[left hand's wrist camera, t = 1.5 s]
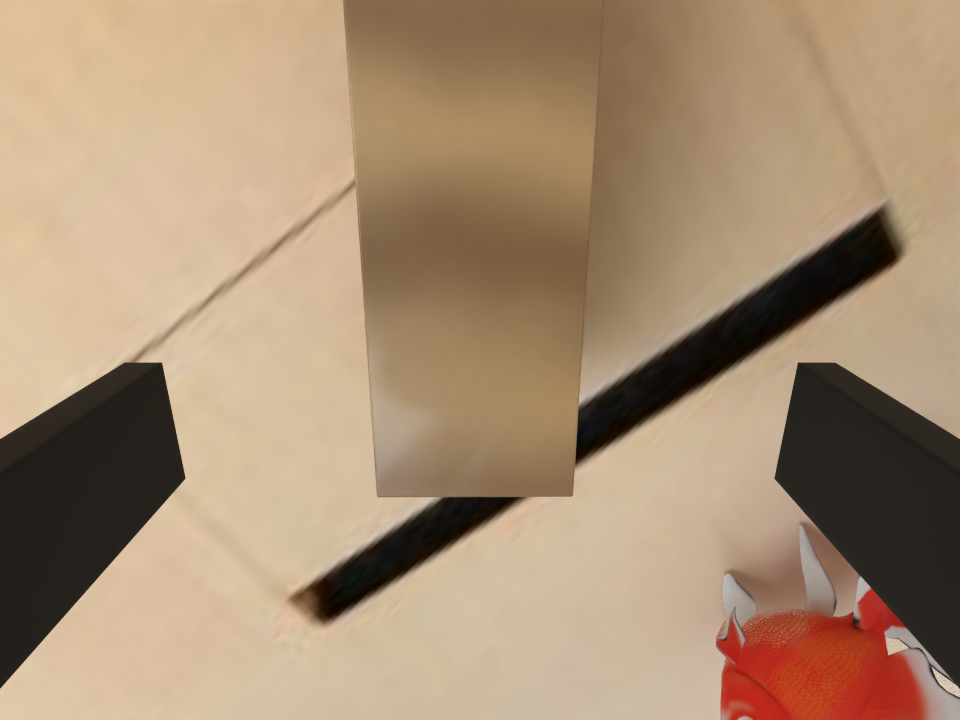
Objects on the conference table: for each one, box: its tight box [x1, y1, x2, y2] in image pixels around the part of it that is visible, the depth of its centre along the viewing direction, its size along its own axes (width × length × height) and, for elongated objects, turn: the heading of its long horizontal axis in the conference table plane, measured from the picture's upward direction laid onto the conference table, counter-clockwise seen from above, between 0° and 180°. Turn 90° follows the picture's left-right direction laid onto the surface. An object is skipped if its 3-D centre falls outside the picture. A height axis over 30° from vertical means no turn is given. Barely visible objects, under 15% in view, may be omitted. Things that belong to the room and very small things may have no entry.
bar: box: [343, 0, 604, 497], centre depth 17 cm, size 23×6×10 cm, turn 0°
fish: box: [716, 526, 960, 720], centre depth 25 cm, size 11×16×10 cm
